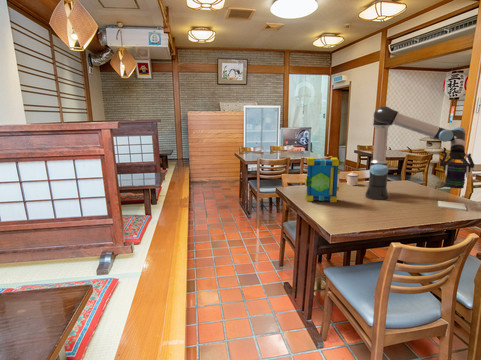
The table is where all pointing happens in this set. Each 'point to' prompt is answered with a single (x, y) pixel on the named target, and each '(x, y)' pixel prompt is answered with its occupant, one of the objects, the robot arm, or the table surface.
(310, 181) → the decorative book
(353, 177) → the teacup with lid
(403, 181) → the table surface
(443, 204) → the placemat
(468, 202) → the table surface
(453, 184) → the rusty oil drum
